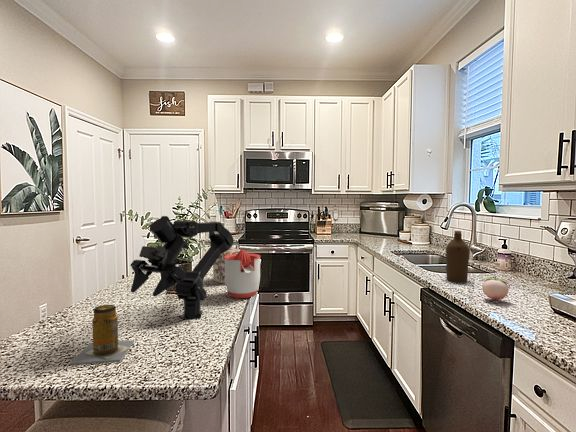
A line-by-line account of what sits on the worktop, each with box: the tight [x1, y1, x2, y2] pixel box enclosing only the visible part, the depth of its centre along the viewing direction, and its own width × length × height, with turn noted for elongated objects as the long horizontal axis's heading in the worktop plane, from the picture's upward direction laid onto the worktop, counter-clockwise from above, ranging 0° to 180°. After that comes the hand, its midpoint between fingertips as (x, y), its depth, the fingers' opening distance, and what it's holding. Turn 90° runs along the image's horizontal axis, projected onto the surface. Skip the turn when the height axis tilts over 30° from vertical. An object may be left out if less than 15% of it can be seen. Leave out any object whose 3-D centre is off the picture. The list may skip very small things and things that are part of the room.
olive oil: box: [445, 230, 470, 283], centre depth 170 cm, size 11×11×25 cm
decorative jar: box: [212, 245, 241, 285], centre depth 170 cm, size 12×12×18 cm
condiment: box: [86, 304, 131, 358], centre depth 91 cm, size 7×8×12 cm
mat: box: [69, 339, 135, 366], centre depth 92 cm, size 12×12×1 cm
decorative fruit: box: [481, 276, 510, 302], centre depth 136 cm, size 9×8×10 cm
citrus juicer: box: [224, 248, 261, 299], centre depth 145 cm, size 16×17×20 cm
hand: (142, 293), depth 100 cm, fingers open, 9 cm apart
